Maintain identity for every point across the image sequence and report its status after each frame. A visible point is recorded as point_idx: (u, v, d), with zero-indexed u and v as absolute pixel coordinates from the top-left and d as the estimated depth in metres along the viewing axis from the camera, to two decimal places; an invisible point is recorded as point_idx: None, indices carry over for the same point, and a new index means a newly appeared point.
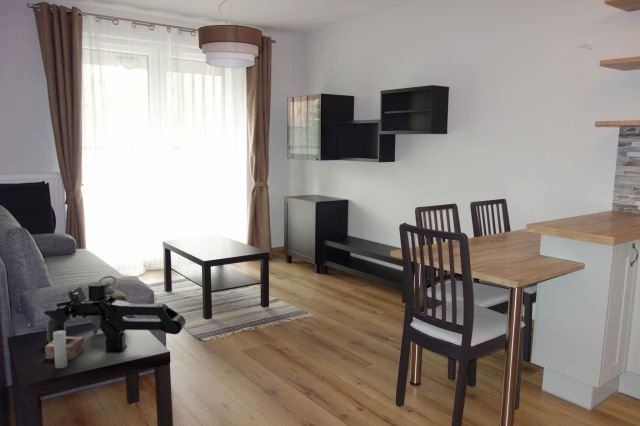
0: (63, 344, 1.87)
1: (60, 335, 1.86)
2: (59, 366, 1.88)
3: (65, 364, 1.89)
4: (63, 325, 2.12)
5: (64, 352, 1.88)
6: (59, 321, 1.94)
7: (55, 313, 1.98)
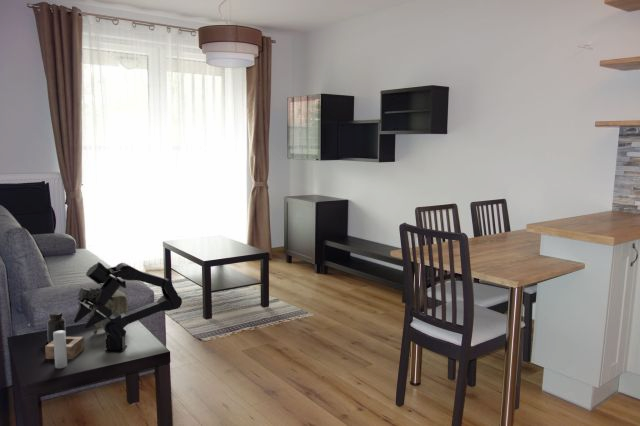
0: (63, 344, 1.87)
1: (60, 335, 1.86)
2: (59, 366, 1.88)
3: (65, 364, 1.89)
4: (63, 325, 2.12)
5: (64, 352, 1.88)
6: (108, 315, 1.92)
7: (94, 318, 1.92)
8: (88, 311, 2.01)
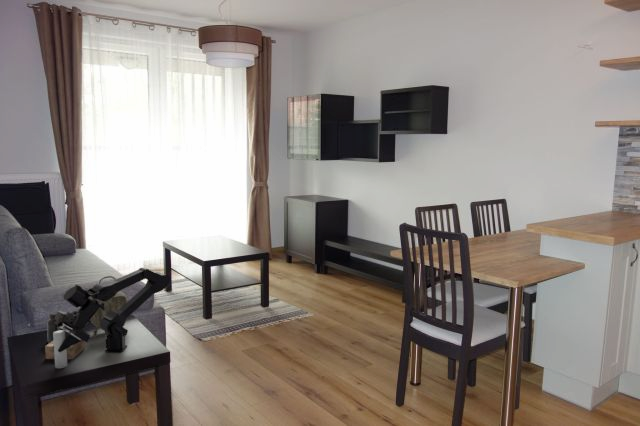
0: None
1: (60, 335, 1.86)
2: (59, 366, 1.88)
3: (65, 364, 1.89)
4: None
5: (64, 352, 1.88)
6: (86, 339, 1.86)
7: (68, 341, 1.88)
8: None
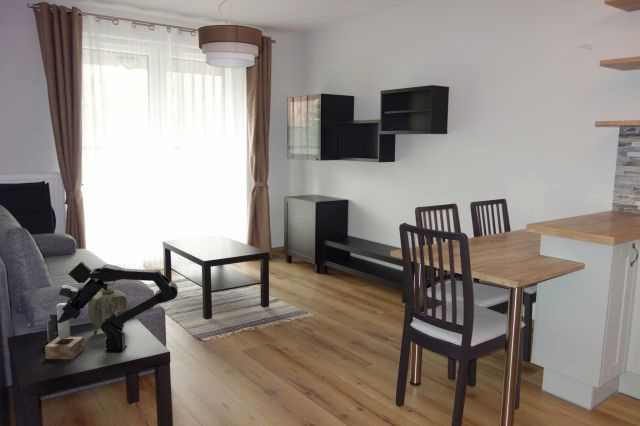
0: None
1: (60, 307, 1.96)
2: (59, 336, 1.98)
3: (65, 336, 1.98)
4: None
5: (64, 324, 1.97)
6: (74, 316, 1.91)
7: (66, 314, 1.96)
8: None
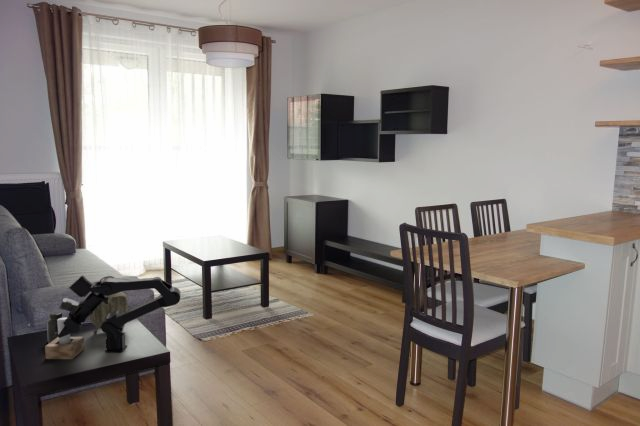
0: None
1: (60, 322, 1.97)
2: None
3: None
4: None
5: (65, 339, 1.98)
6: (74, 330, 1.92)
7: (66, 328, 1.96)
8: None
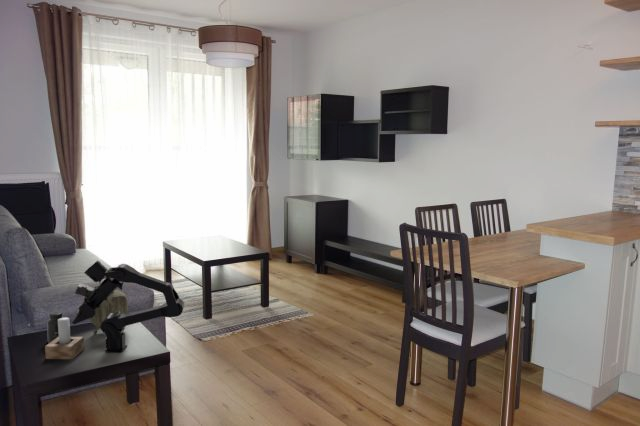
0: (63, 331, 1.98)
1: (61, 322, 1.97)
2: None
3: None
4: None
5: (65, 339, 1.98)
6: (90, 315, 1.92)
7: (81, 315, 1.95)
8: None
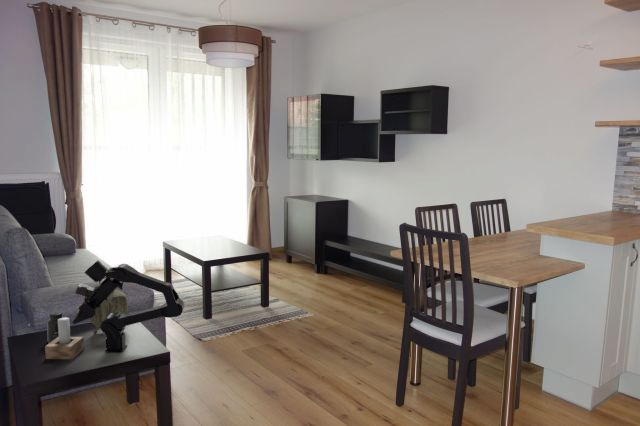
0: (63, 331, 1.98)
1: (61, 322, 1.97)
2: None
3: None
4: None
5: (65, 339, 1.98)
6: (90, 314, 1.92)
7: (81, 315, 1.95)
8: None
